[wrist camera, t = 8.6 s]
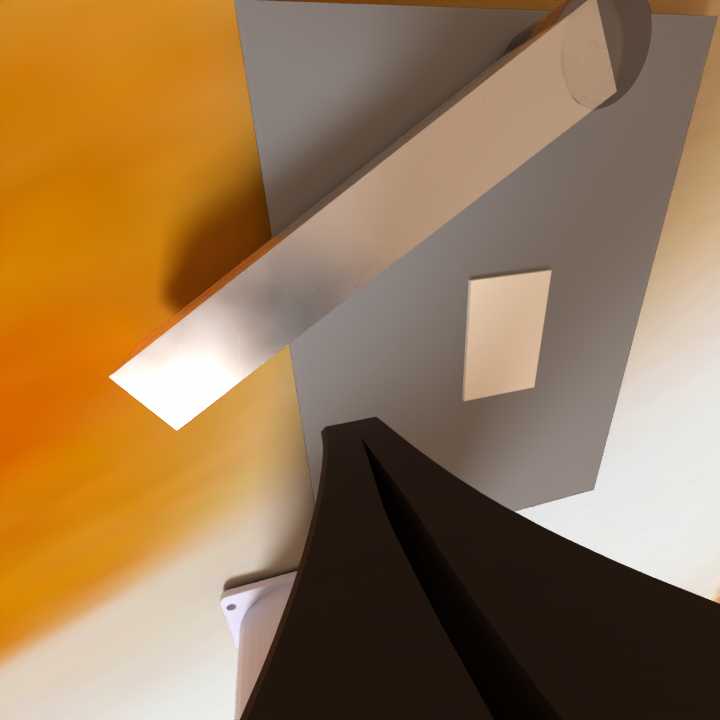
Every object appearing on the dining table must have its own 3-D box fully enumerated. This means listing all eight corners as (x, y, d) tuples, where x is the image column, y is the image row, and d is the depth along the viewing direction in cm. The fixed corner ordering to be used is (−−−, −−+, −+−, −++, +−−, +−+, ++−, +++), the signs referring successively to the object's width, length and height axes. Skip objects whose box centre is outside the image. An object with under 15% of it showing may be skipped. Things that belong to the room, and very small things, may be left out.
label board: (581, 479, 25) (596, 491, 23) (322, 548, 21) (325, 566, 20) (689, 27, 15) (723, 13, 14) (236, 15, 11) (233, -4, 10)
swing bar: (556, 3, 12) (639, -55, 9) (581, 95, 13) (660, 68, 11) (134, 336, 13) (101, 371, 10) (197, 391, 14) (183, 434, 12)
